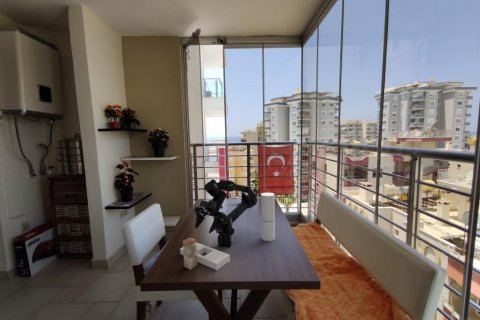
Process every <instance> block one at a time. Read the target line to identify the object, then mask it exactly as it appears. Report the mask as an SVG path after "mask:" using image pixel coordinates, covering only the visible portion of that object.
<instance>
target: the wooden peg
mask: <svg viewBox="0 0 480 320" xmlns="http://www.w3.org/2000/svg"><path fill="white" fill-rule="evenodd" d="M196 242H197V239H195V238H193V237H188V238H185V239H184V240H182V247H183V252H184V256H183V265H184V266H183V267H185V268H187V269H189V270H192V269H193V268H195V267H197V266H198V262H197V250H196Z"/></svg>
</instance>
